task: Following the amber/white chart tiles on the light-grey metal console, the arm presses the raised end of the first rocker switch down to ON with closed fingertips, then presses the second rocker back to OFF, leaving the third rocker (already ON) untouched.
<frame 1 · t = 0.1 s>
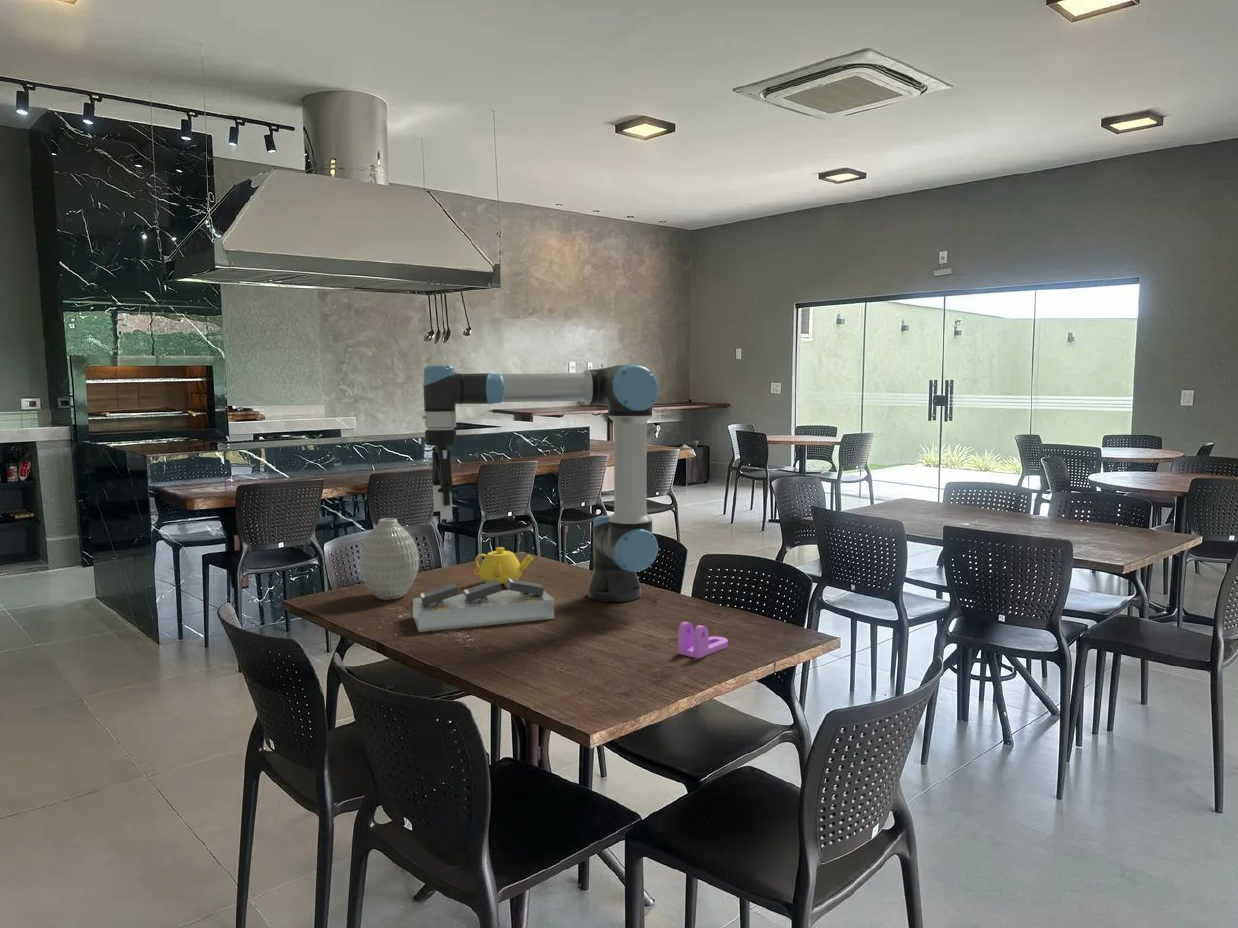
hand: (442, 514, 211), 28 cm above the table, fingers open, 13 cm apart
switch 2: (482, 590, 220), point 7 cm above the table, hinge at 14.0°
vase: (390, 597, 243), on the table
console: (483, 617, 220), on the table
switch 3: (439, 593, 216), point 7 cm above the table, hinge at 14.0°
teapot: (503, 585, 256), on the table
bracket: (705, 650, 194), on the table
switch 1: (524, 586, 223), point 7 cm above the table, hinge at -14.0°
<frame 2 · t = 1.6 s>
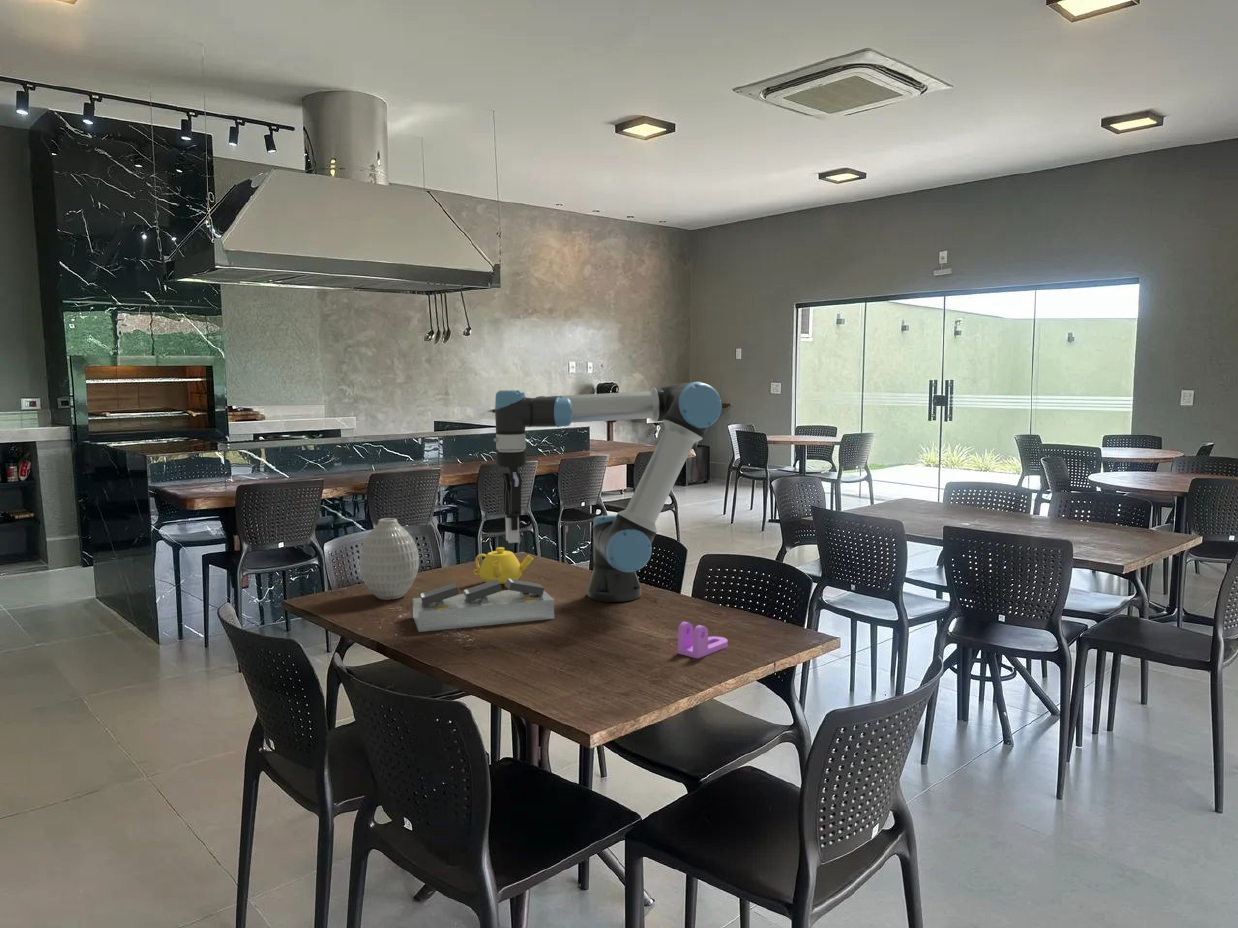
hand: (512, 541, 221), 20 cm above the table, fingers open, 3 cm apart
nothing on the table moved.
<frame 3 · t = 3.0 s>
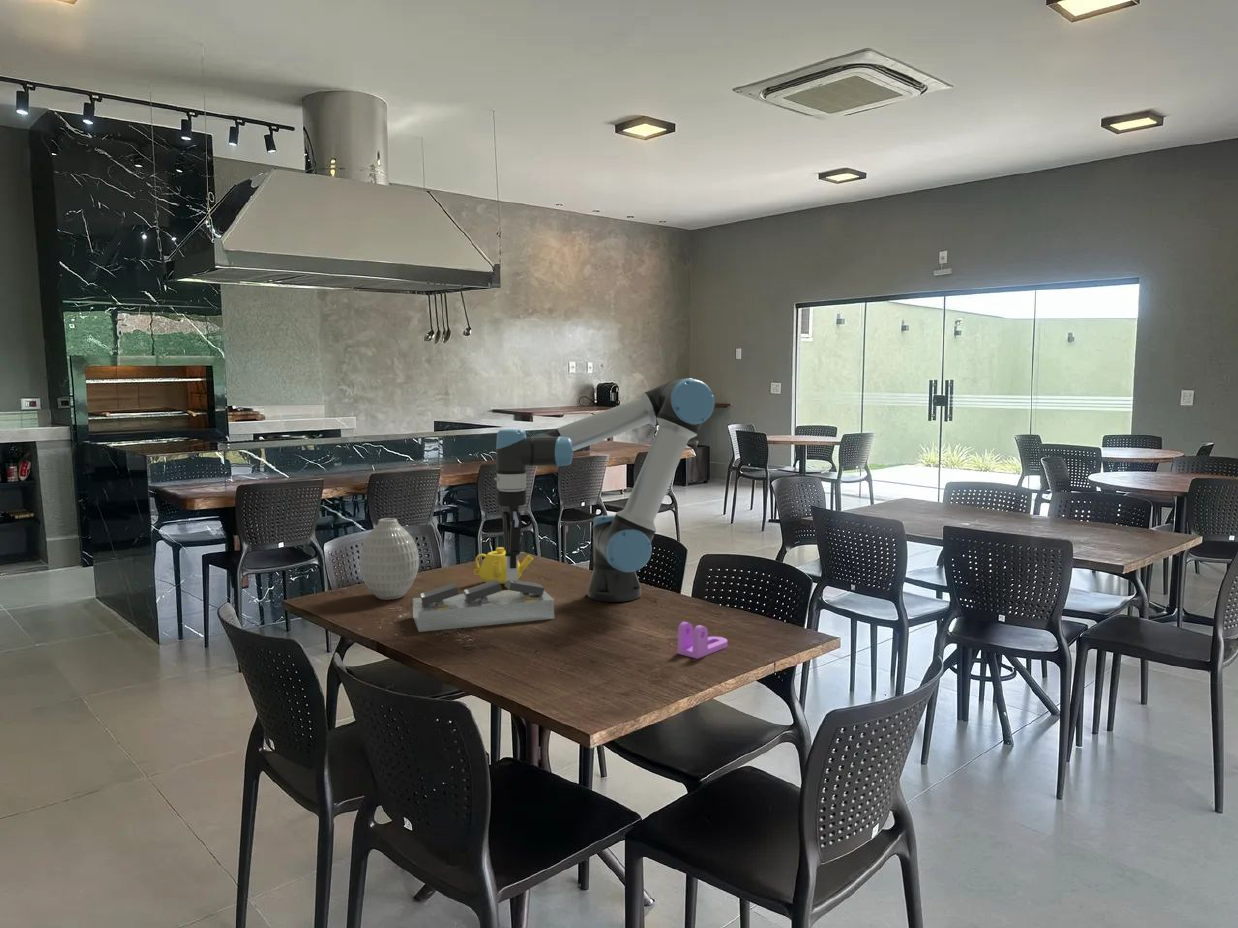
hand: (512, 579, 222), 9 cm above the table, fingers closed
switch 1: (524, 586, 223), point 7 cm above the table, hinge at -13.6°, touching gripper
everything else where it was.
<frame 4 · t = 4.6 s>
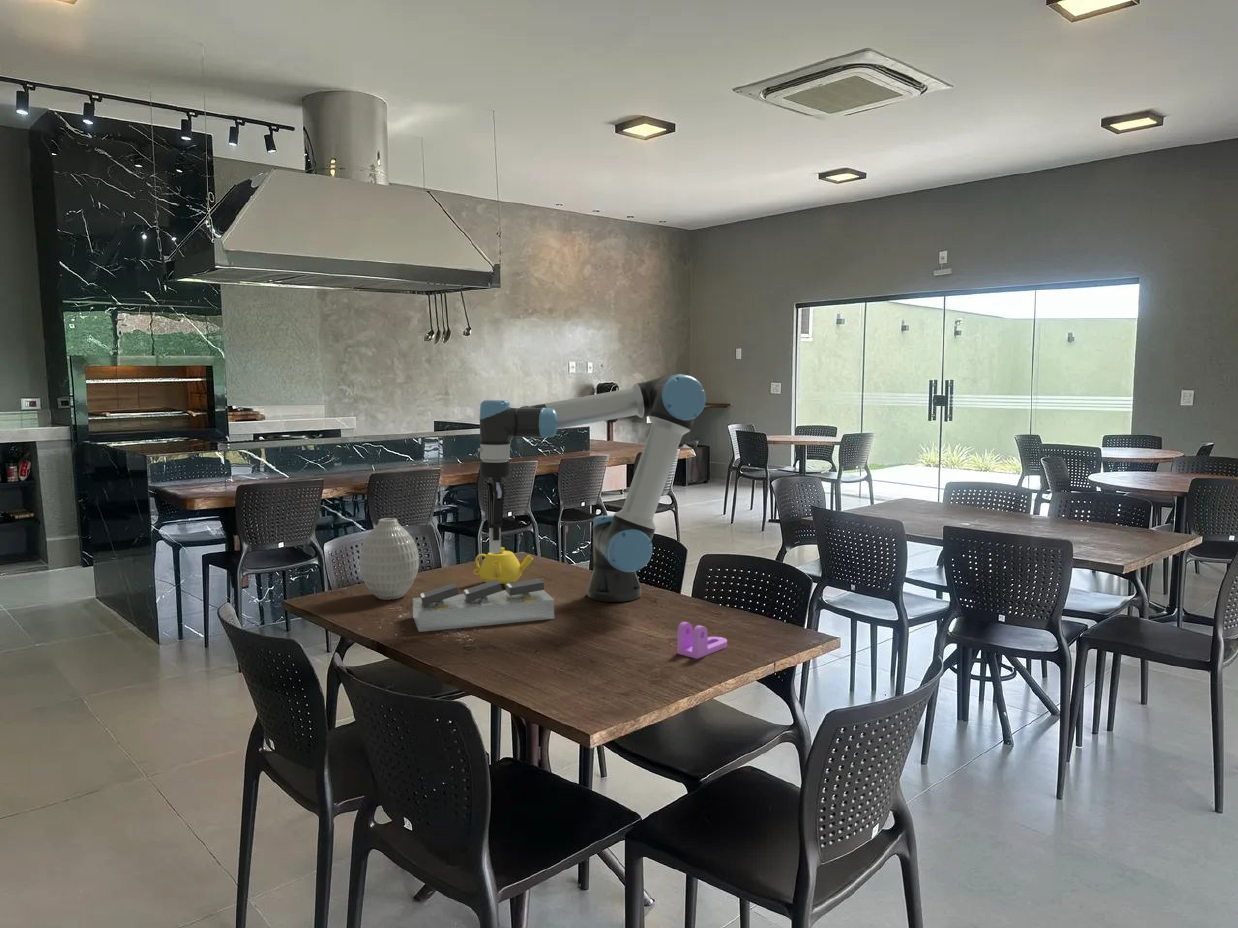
hand: (495, 552, 220), 17 cm above the table, fingers closed
switch 1: (524, 586, 223), point 7 cm above the table, hinge at 5.2°
everything else where it was.
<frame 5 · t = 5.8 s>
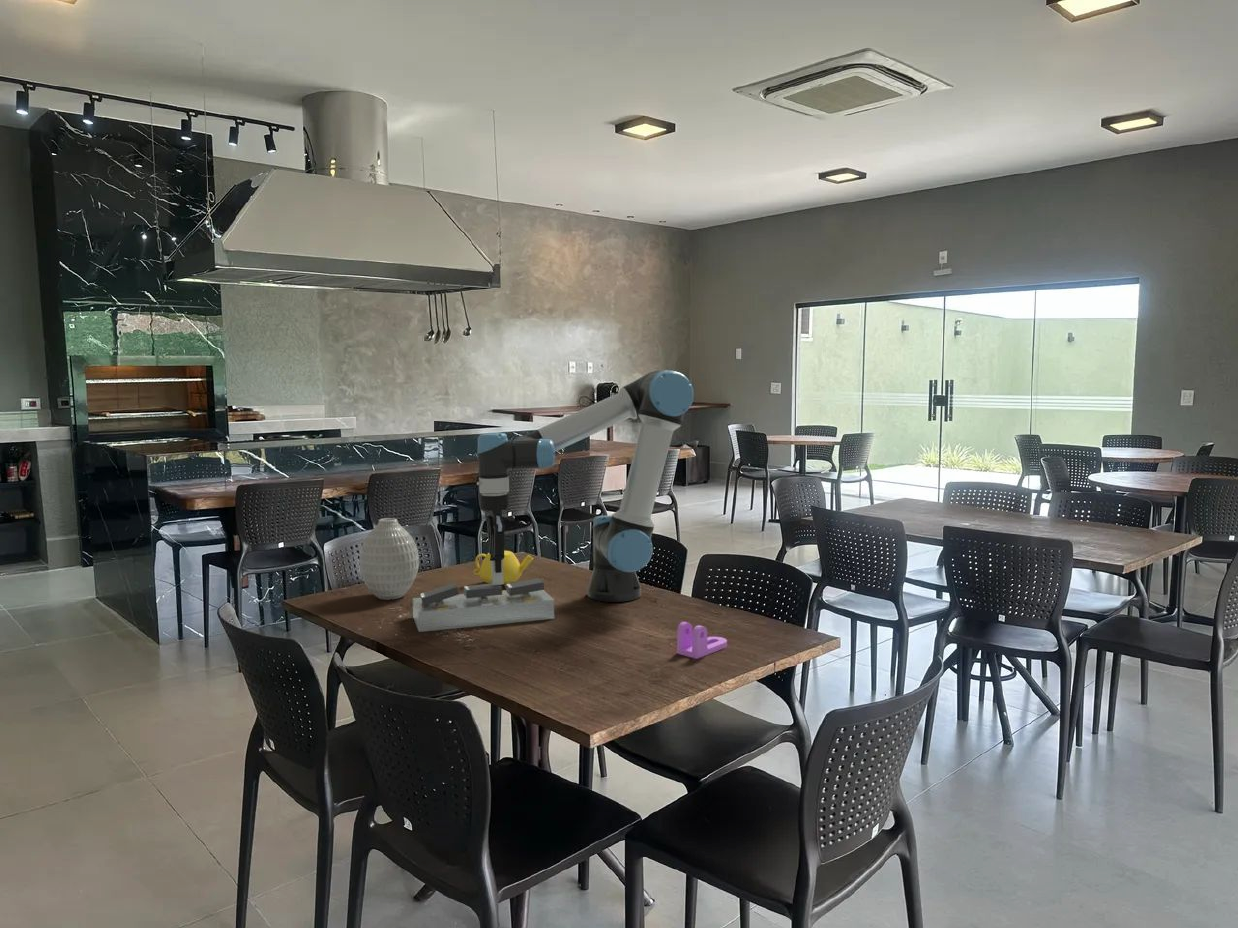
hand: (497, 584, 221), 9 cm above the table, fingers closed
switch 2: (482, 590, 220), point 7 cm above the table, hinge at 1.3°, touching gripper
switch 1: (524, 586, 223), point 7 cm above the table, hinge at 5.9°
everything else where it was.
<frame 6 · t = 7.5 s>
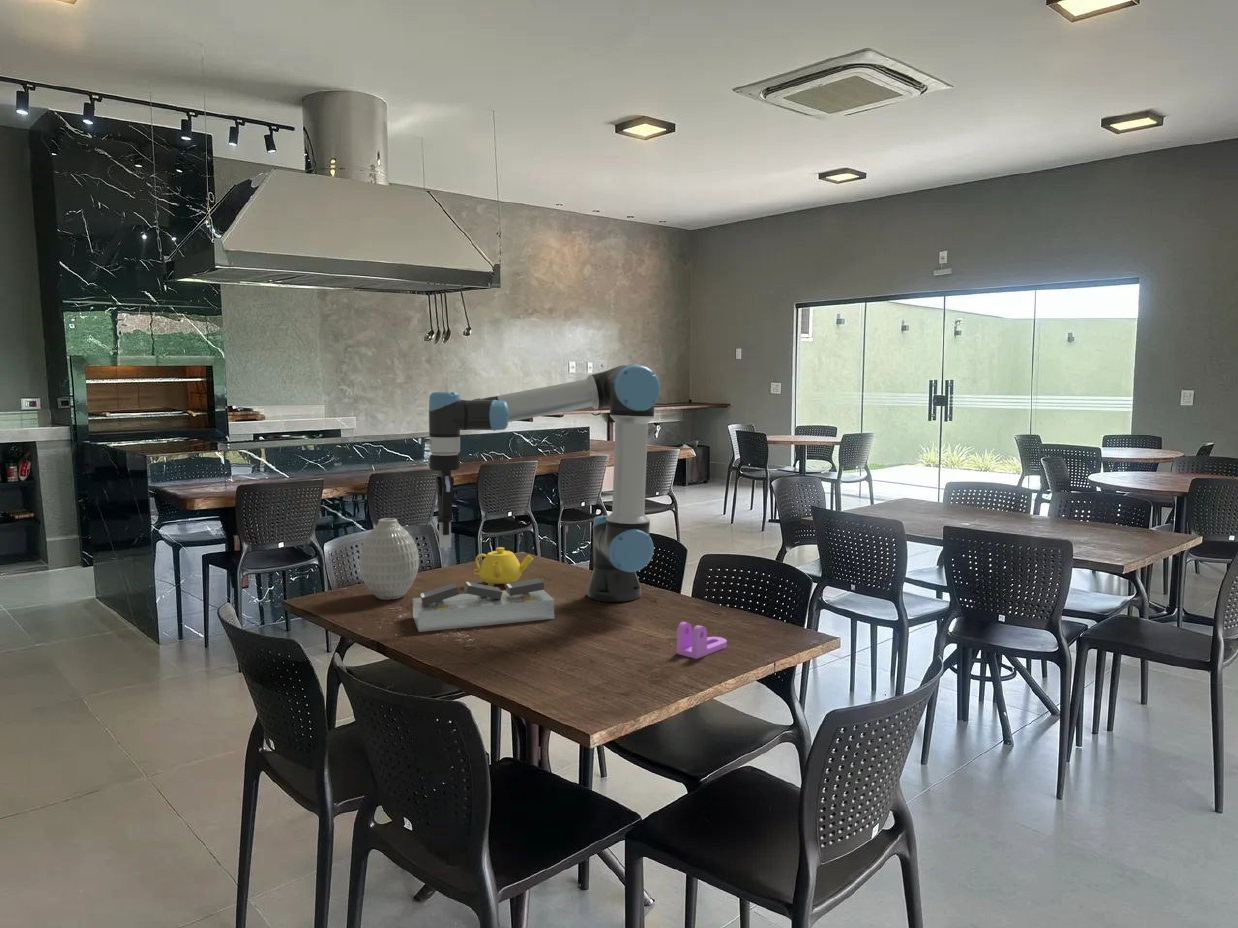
hand: (445, 547, 216), 19 cm above the table, fingers closed
switch 2: (482, 590, 220), point 7 cm above the table, hinge at -15.0°
everything else where it was.
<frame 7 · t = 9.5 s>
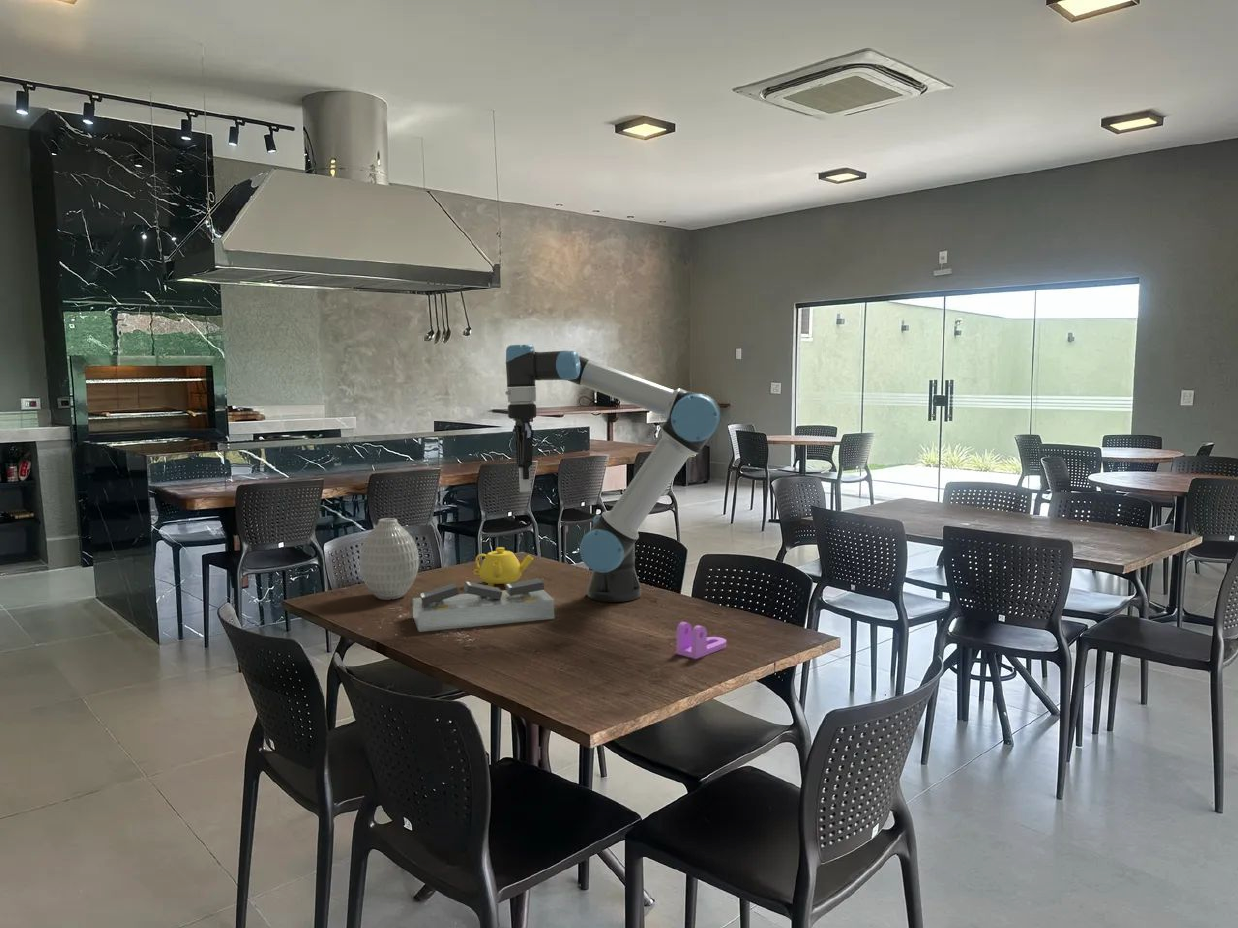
hand: (525, 491, 230), 31 cm above the table, fingers closed
switch 2: (482, 590, 220), point 7 cm above the table, hinge at -15.9°
everything else where it was.
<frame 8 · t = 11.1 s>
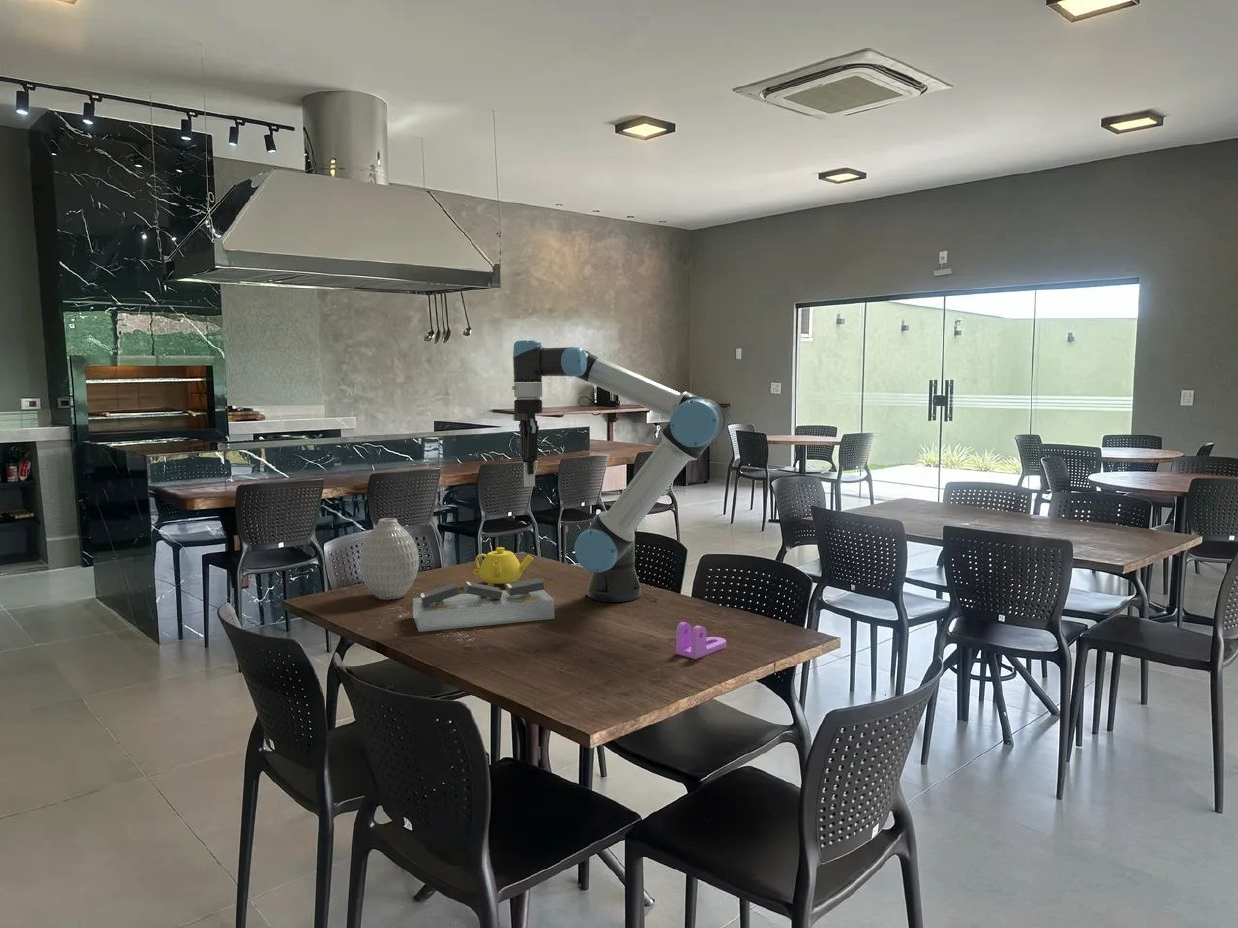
hand: (529, 485, 231), 32 cm above the table, fingers closed
nothing on the table moved.
at the end: switch 1 at +6° (first picture: -14°); switch 2 at -16° (first picture: +14°); switch 3 at +14° (first picture: +14°) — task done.
